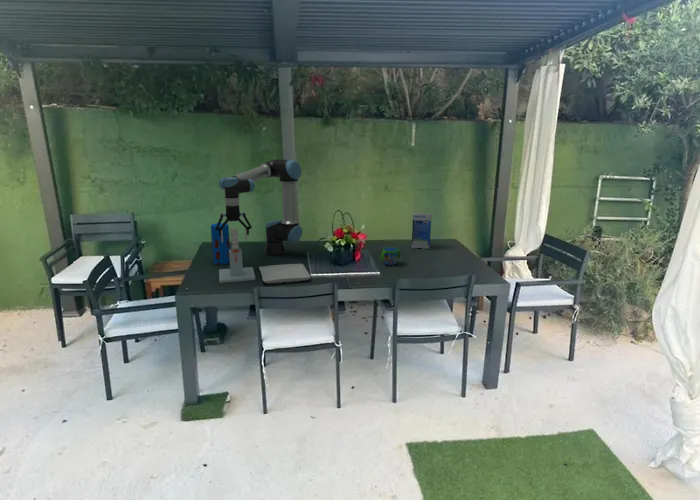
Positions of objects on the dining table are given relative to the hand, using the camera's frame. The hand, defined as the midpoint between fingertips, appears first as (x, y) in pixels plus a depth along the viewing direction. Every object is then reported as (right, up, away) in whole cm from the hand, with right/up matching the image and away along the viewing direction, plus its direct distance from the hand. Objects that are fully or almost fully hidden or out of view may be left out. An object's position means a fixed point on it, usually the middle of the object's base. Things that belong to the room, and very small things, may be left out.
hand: (234, 241), depth 255 cm
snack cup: (+93, -15, +32) cm, 99 cm away
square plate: (+28, -21, +6) cm, 36 cm away
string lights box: (+119, -4, +70) cm, 138 cm away
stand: (0, -20, +6) cm, 21 cm away
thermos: (-16, -13, +31) cm, 37 cm away
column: (0, -19, +5) cm, 19 cm away
